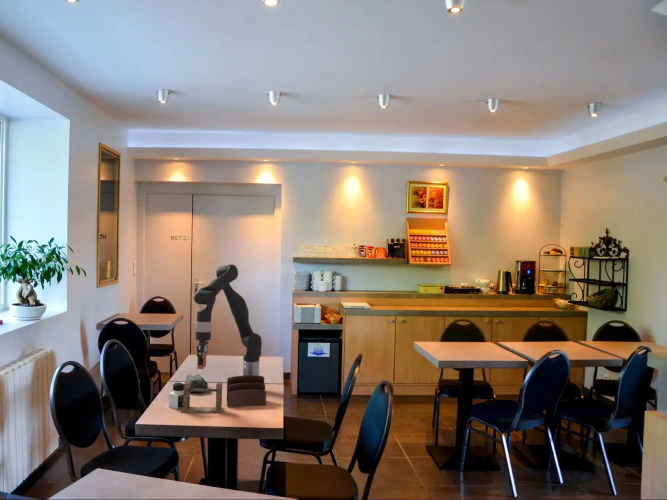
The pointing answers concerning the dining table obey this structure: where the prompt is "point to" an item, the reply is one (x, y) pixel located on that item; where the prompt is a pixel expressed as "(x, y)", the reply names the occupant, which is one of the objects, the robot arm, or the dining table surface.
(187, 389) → the rail stand
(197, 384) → the rock
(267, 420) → the dining table surface
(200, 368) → the pink u-shaped bracket
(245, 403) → the letter holder
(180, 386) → the medicine bottle
